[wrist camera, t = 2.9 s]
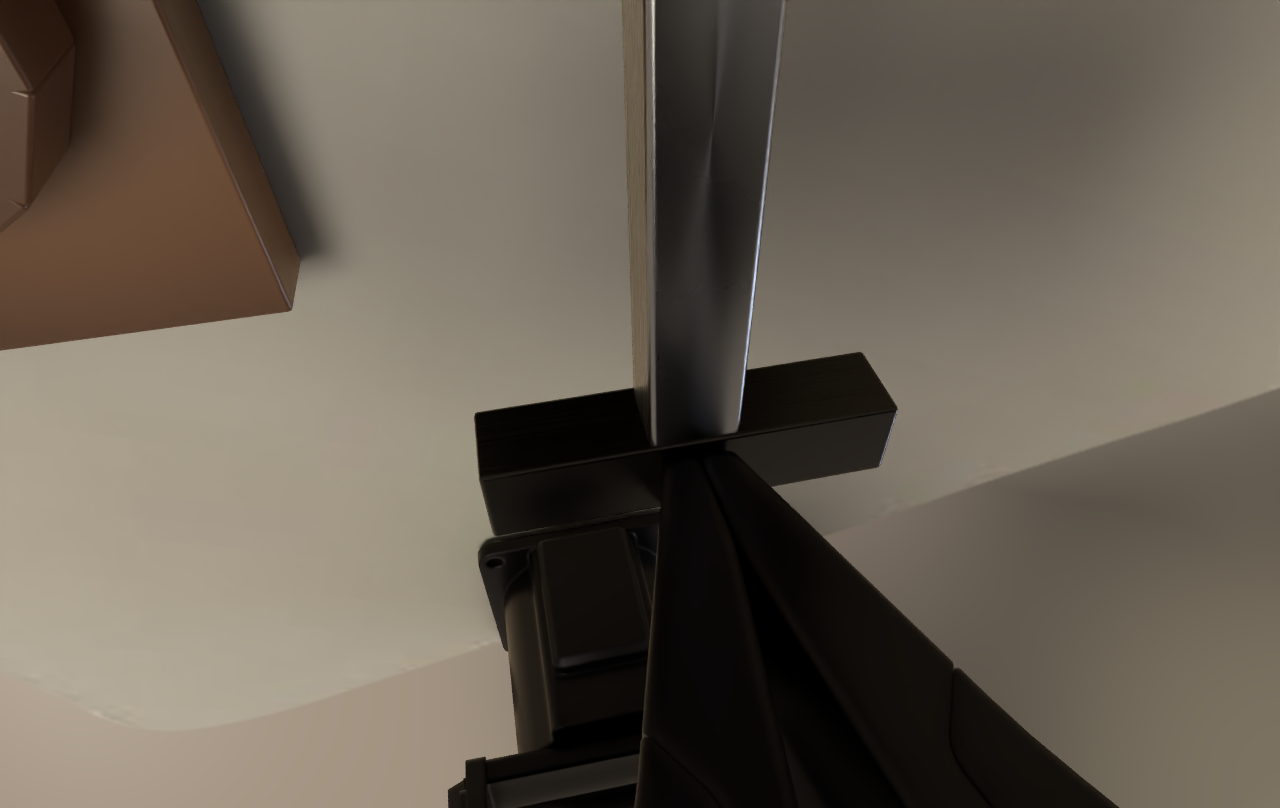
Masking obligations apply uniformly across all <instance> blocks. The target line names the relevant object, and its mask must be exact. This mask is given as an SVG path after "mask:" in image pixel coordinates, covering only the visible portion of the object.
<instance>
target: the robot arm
mask: <svg viewBox="0 0 1280 808" xmlns="http://www.w3.org/2000/svg"><path fill="white" fill-rule="evenodd" d="M478 562H479V568H480V572H481V575H482V578H483V582H484V585H485V588H486V592H487V595H488V598H489V601H490V605H491V608H492V611H493V615H494V618H495V621H496V625H497V628H498V631H499V634H500V638H501V641H502V644H503V648H504V649H505V651H508V653H509V663H510V674H511V684H512V693H513V704H514V715H515V725H516V736H517V745H518V754H515V755H509V756H504V757H499V758H494V759H489V760H486V757H481V758H476V759H471V760H466V778H464V780H463V781H462V782H460V783H458V784H457V785H455V786H453V787H452V788H450V789H449V790H448V804H449V805H448V807H449V808H1119V807H1118V806H1117V805H1115V804H1114V803H1113V802H1112V801H1110V800H1109V799H1108V798H1107V797H1105V796H1104V795H1103V794H1102V793H1100V792H1099V791H1098V790H1097V789H1095V788H1094V787H1093V786H1092V785H1091V784H1089V783H1088V782H1087V781H1085V780H1084V779H1083V778H1082V777H1080V776H1079V775H1078V774H1077V773H1076V772H1075V771H1073V770H1072V769H1071V768H1070V767H1069V766H1067V765H1066V764H1065V763H1064V762H1063V761H1061V760H1060V759H1059V758H1058V757H1057V756H1055V755H1054V754H1053V753H1052V752H1051V751H1049V750H1048V749H1047V748H1046V747H1045V746H1043V745H1042V744H1041V743H1040V742H1039V741H1037V740H1036V739H1035V738H1034V737H1032V736H1031V735H1030V734H1029V733H1028V732H1027V731H1026V730H1025V729H1024V728H1022V726H1020V725H1019V724H1018V723H1017V722H1016V721H1015V720H1014V719H1013V718H1012V717H1011V716H1010V715H1008V714H1007V713H1006V712H1005V711H1004V710H1003V709H1002V708H1001V707H1000V706H999V705H998V704H996V703H995V702H994V701H993V700H992V699H991V698H990V697H989V696H988V695H987V694H986V693H985V692H984V691H983V690H982V689H981V688H979V687H978V686H977V685H976V684H975V683H974V682H973V681H972V680H971V679H970V678H969V677H968V676H967V675H966V674H965V673H964V672H963V671H962V670H961V669H959V668H954V665H953V663H952V661H951V660H950V659H949V658H948V657H947V656H946V655H945V654H944V653H943V652H942V651H941V650H940V649H939V648H938V647H937V646H936V645H935V644H934V643H932V642H931V641H930V640H929V639H928V638H927V637H926V636H925V635H924V634H923V633H922V632H921V631H920V630H919V629H918V628H917V627H916V626H915V625H914V624H913V623H912V622H911V621H910V620H909V619H907V617H906V616H904V615H903V614H902V613H901V612H900V611H899V610H898V609H897V608H896V607H895V606H894V605H893V604H892V603H891V602H890V601H889V600H888V599H887V598H886V597H885V596H884V595H883V594H882V593H880V591H878V590H877V589H876V588H875V587H874V586H873V585H872V584H871V583H870V582H869V581H868V580H867V579H866V578H865V577H864V576H863V575H862V574H861V573H860V572H859V571H858V570H857V569H855V568H854V566H852V565H851V564H850V563H849V562H848V561H847V560H846V559H845V558H844V557H843V556H842V555H841V554H840V553H839V552H838V551H837V550H836V549H835V548H834V547H833V546H831V544H830V543H829V542H827V540H825V539H824V538H823V537H822V536H821V535H820V534H819V533H818V532H817V531H816V530H815V529H814V528H813V527H812V526H811V525H810V524H809V523H808V522H807V521H806V520H805V519H804V518H803V517H802V516H801V515H799V514H798V513H797V512H796V511H795V510H794V509H793V508H792V507H791V506H790V505H789V504H788V503H787V502H786V501H785V500H784V499H783V498H782V497H781V496H780V495H779V494H778V493H777V492H776V491H775V490H773V489H772V488H771V487H770V486H769V485H768V484H767V483H766V482H765V481H764V480H763V479H762V478H761V477H760V476H759V475H758V474H757V473H756V472H755V471H754V470H753V469H752V468H751V467H750V466H749V465H748V464H746V463H745V462H744V461H743V460H742V459H741V458H740V457H739V456H738V455H737V454H736V453H734V452H732V451H721V452H715V453H710V454H704V455H702V456H701V457H700V458H699V460H698V459H697V458H696V457H686V458H681V459H675V460H669V461H667V462H666V463H665V465H664V472H663V484H662V496H661V508H660V513H656V514H651V515H645V516H640V517H634V518H629V519H623V520H618V521H612V522H607V523H601V524H596V525H590V526H585V527H579V528H574V529H568V530H563V531H557V532H552V533H546V534H541V535H535V536H530V537H524V538H519V539H513V540H508V541H502V542H497V543H491V544H488V545H485V546H484V547H482V548H481V549H480V550H479V551H478ZM953 668H954V669H953Z"/></svg>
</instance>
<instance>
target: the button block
mask: <svg viewBox="0 0 1280 808" xmlns="http://www.w3.org/2000/svg"><path fill="white" fill-rule="evenodd" d="M299 266H300V259H299V257H298V254H297V252H296V249H295V247H294V244H293V242H292V239H291V237H290V234H289V232H288V229H287V227H286V224H285V222H284V219H283V217H282V214H281V212H280V209H279V207H278V204H277V202H276V199H275V197H274V194H273V192H272V189H271V187H270V184H269V182H268V179H267V177H266V174H265V172H264V169H263V167H262V164H261V162H260V159H259V157H258V154H257V152H256V149H255V147H254V144H253V142H252V139H251V137H250V134H249V132H248V129H247V127H246V124H245V122H244V119H243V117H242V114H241V112H240V109H239V107H238V104H237V102H236V99H235V97H234V94H233V92H232V89H231V87H230V84H229V82H228V79H227V77H226V74H225V72H224V69H223V67H222V64H221V62H220V60H219V57H218V55H217V52H216V50H215V47H214V45H213V42H212V40H211V37H210V35H209V32H208V30H207V27H206V25H205V22H204V20H203V17H202V15H201V12H200V10H199V7H198V5H197V2H196V0H0V351H1V350H8V349H15V348H23V347H30V346H37V345H45V344H52V343H60V342H67V341H74V340H82V339H89V338H96V337H104V336H111V335H119V334H126V333H133V332H141V331H148V330H155V329H163V328H170V327H178V326H185V325H192V324H200V323H207V322H215V321H222V320H229V319H237V318H244V317H251V316H259V315H266V314H274V313H281V312H288V311H290V310H292V307H293V301H294V295H295V290H296V284H297V278H298V272H299Z"/></svg>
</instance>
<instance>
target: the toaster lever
mask: <svg viewBox="0 0 1280 808" xmlns="http://www.w3.org/2000/svg"><path fill="white" fill-rule="evenodd" d="M786 8H787V0H622V22H623V55H624V87H625V120H626V152H627V185H628V217H629V250H630V282H631V315H632V347H633V380H634V388H628V389H622V390H616V391H609V392H603V393H597V394H590V395H584V396H578V397H571V398H565V399H559V400H552V401H546V402H540V403H534V404H527V405H521V406H515V407H508V408H502V409H496V410H489V411H483V412H477V413H475V416H474V422H475V434H476V447H477V459H478V472H479V481H480V485H481V489H482V493H483V497H484V501H485V504H486V508H487V512H488V516H489V520H490V524H491V528H492V531H493V534H494V535H495V536H501V535H506V534H512V533H517V532H523V531H528V530H534V529H539V528H545V527H550V526H556V525H561V524H567V523H573V522H578V521H584V520H589V519H595V518H600V517H606V516H611V515H617V514H622V513H628V512H633V511H639V510H645V509H650V508H656V507H661V496H662V484H663V472H664V465H665V463H666V462H667V461H669V460H675V459H681V458H686V457H696V458H697V459H698V460H699V458H700V457H701V456H702V455H704V454H710V453H715V452H721V451H732V452H734V453H736V454H737V455H738V456H739V457H740V458H741V459H742V460H743V461H744V462H745V463H746V464H748V465H749V466H750V467H751V468H752V469H753V470H754V471H755V472H756V473H757V474H758V475H759V476H760V477H761V478H762V479H763V480H764V481H765V482H766V483H767V484H768V485H769V486H770V487H772V486H777V485H783V484H788V483H794V482H800V481H805V480H811V479H816V478H822V477H827V476H833V475H838V474H844V473H849V472H855V471H860V470H866V469H872V468H877V467H879V466H880V465H881V462H882V459H883V456H884V453H885V449H886V446H887V443H888V440H889V437H890V434H891V430H892V427H893V424H894V421H895V418H896V415H897V411H898V409H897V406H896V404H895V403H894V401H893V400H892V398H891V397H890V395H889V393H888V392H887V390H886V389H885V387H884V386H883V384H882V383H881V381H880V379H879V378H878V376H877V375H876V373H875V372H874V370H873V369H872V367H871V365H870V364H869V362H868V361H867V359H866V358H865V356H864V355H863V353H861V352H856V353H850V354H844V355H837V356H831V357H825V358H818V359H812V360H806V361H799V362H793V363H787V364H780V365H774V366H768V367H761V368H755V369H749V370H746V369H747V360H748V351H749V342H750V333H751V324H752V315H753V306H754V297H755V288H756V278H757V269H758V260H759V251H760V242H761V233H762V224H763V215H764V206H765V197H766V188H767V179H768V170H769V161H770V152H771V143H772V134H773V125H774V116H775V107H776V98H777V89H778V80H779V71H780V62H781V53H782V44H783V35H784V26H785V17H786Z"/></svg>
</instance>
